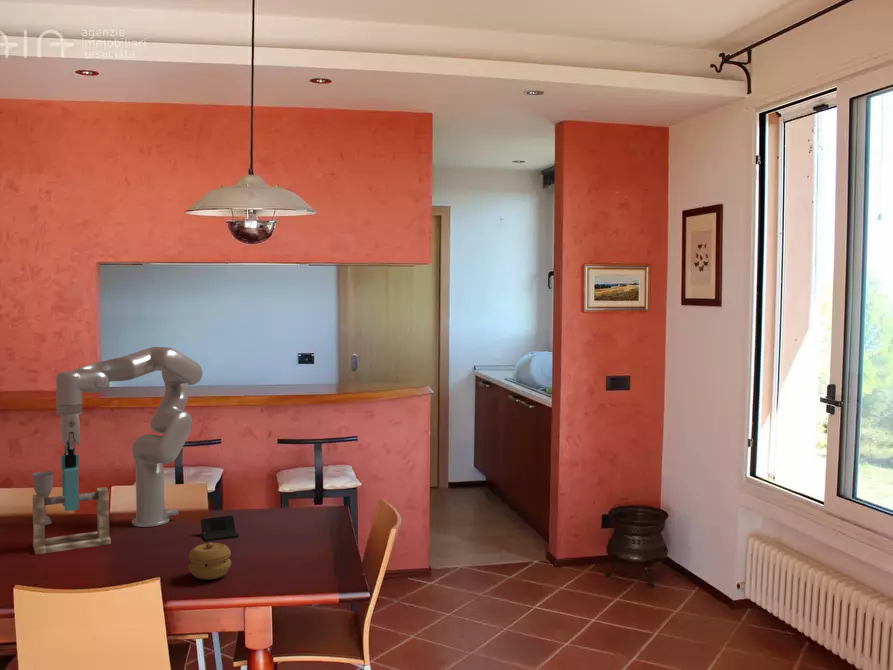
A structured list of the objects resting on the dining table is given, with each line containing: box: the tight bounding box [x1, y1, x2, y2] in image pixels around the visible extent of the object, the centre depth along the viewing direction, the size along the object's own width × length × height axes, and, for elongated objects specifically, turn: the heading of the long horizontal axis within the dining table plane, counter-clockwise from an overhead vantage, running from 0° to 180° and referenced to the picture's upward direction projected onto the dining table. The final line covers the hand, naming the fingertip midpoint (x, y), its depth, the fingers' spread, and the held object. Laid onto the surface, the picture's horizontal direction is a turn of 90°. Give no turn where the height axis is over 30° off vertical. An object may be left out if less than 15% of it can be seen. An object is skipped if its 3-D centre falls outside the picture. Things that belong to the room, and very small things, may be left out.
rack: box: [32, 486, 112, 556], centre depth 259 cm, size 22×12×17 cm, turn 121°
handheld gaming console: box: [200, 515, 240, 543], centre depth 269 cm, size 12×7×10 cm
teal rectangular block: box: [60, 453, 80, 512], centre depth 258 cm, size 5×9×17 cm, turn 31°
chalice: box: [31, 470, 55, 526], centre depth 283 cm, size 7×7×18 cm
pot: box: [188, 541, 232, 581], centre depth 228 cm, size 12×12×10 cm
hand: (70, 465), depth 258 cm, fingers closed on teal rectangular block
